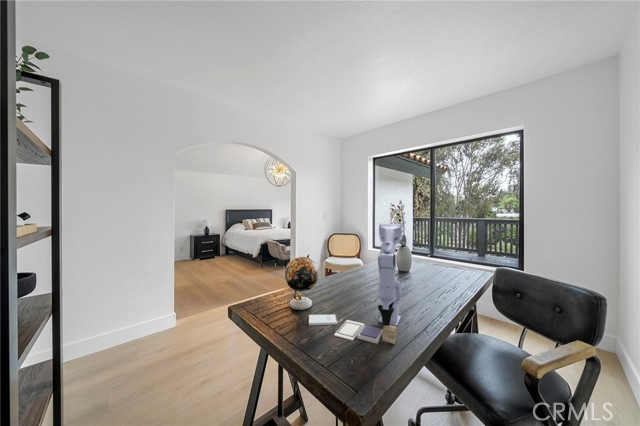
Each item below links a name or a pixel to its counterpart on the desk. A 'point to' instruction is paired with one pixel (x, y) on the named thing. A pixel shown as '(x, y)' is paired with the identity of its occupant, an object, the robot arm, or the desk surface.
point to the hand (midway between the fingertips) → (387, 320)
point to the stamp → (389, 334)
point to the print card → (349, 330)
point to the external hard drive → (322, 320)
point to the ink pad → (370, 334)
